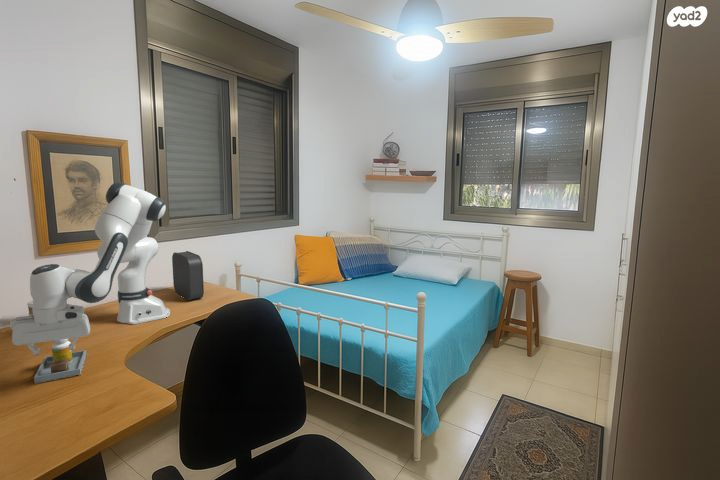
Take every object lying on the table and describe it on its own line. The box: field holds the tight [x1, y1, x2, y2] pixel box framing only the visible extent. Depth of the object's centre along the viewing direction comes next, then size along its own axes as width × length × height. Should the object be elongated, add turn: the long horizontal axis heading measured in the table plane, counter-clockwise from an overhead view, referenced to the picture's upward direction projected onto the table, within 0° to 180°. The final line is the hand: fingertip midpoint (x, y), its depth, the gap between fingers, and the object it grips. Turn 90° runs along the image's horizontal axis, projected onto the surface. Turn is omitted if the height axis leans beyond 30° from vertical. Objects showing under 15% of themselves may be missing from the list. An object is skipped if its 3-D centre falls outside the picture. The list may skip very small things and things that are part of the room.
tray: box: [33, 349, 87, 384], centre depth 130 cm, size 12×16×2 cm
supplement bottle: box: [51, 338, 73, 364], centre depth 132 cm, size 5×5×10 cm
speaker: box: [171, 250, 205, 301], centre depth 211 cm, size 25×9×25 cm, turn 46°
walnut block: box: [50, 359, 69, 374], centre depth 126 cm, size 4×4×4 cm
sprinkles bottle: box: [27, 300, 33, 316], centre depth 159 cm, size 5×5×14 cm
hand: (54, 351), depth 125 cm, fingers open, 8 cm apart
